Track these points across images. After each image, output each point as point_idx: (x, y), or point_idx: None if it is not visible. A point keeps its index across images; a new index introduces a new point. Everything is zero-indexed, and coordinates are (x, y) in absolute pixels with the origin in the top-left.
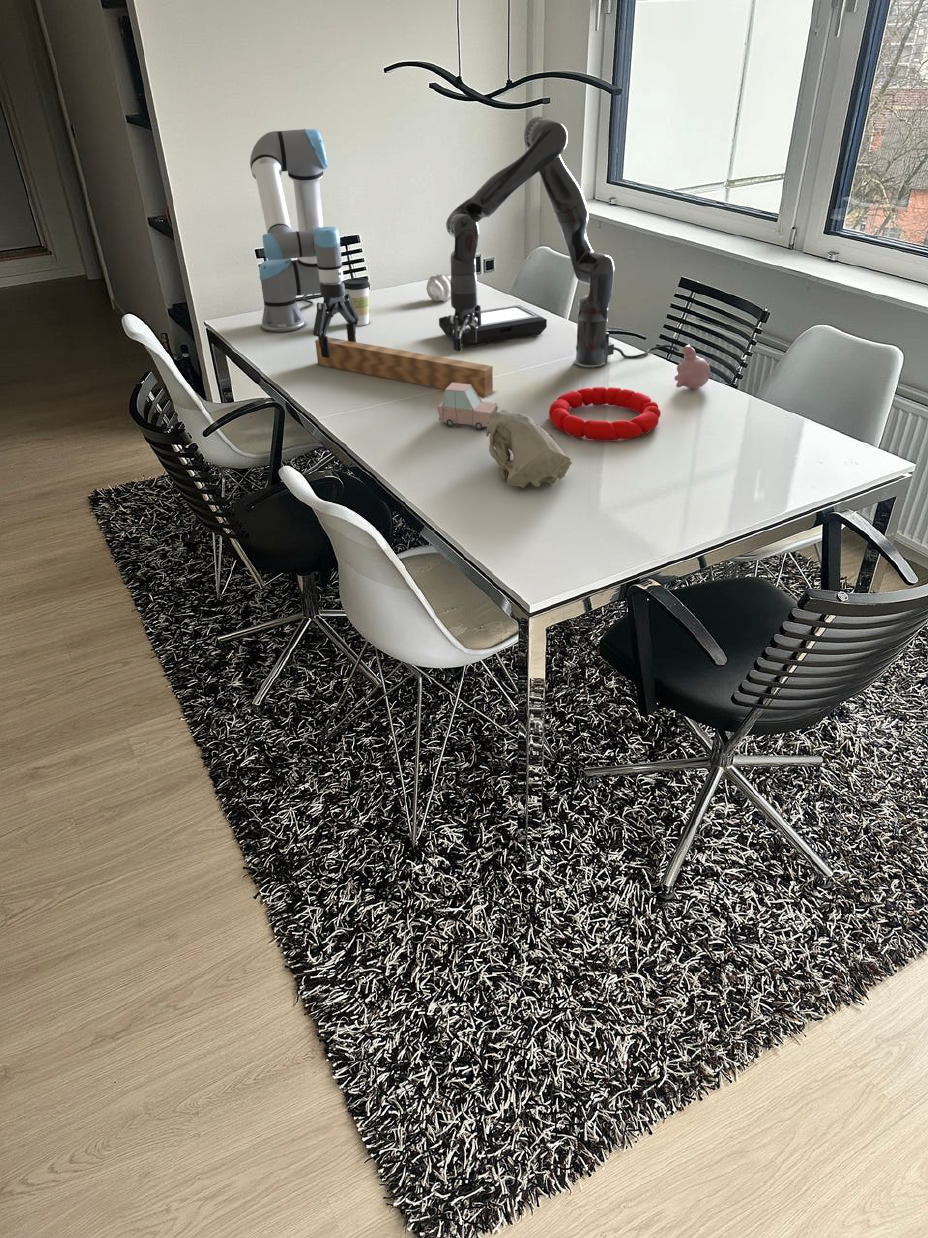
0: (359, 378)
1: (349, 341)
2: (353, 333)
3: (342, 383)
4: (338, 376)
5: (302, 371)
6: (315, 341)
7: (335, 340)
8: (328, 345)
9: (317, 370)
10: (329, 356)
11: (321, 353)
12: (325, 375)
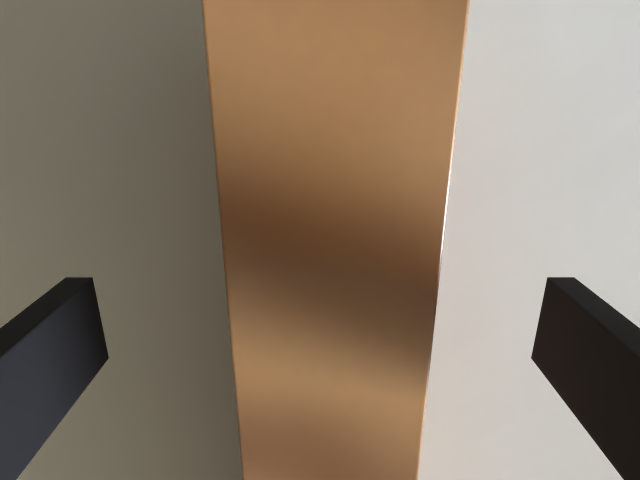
0: (196, 477)
1: (400, 475)
2: (615, 466)
3: (69, 446)
4: (145, 359)
5: (39, 29)
6: (206, 5)
7: (359, 312)
8: (32, 456)
9: (143, 141)
10: (98, 363)
11: (45, 295)
12: (101, 272)
